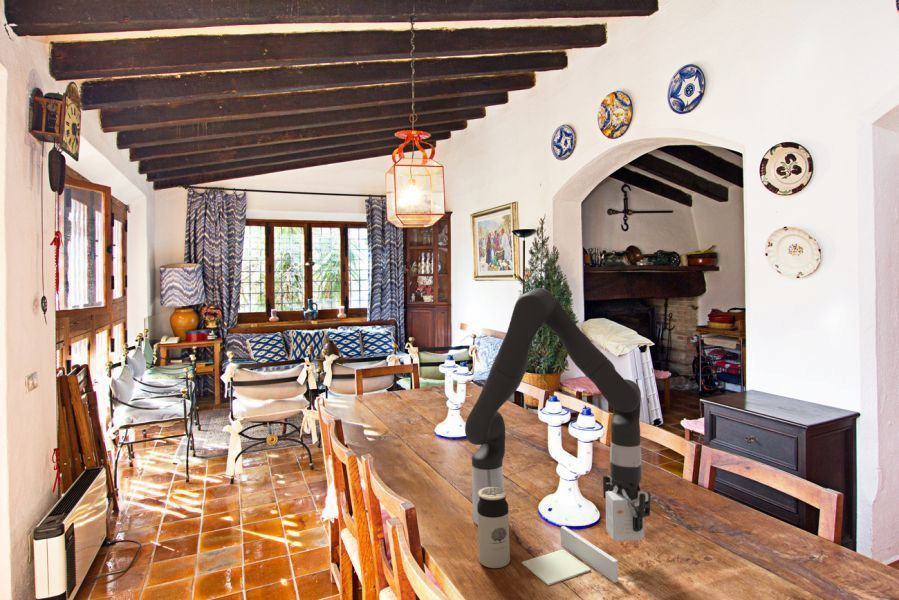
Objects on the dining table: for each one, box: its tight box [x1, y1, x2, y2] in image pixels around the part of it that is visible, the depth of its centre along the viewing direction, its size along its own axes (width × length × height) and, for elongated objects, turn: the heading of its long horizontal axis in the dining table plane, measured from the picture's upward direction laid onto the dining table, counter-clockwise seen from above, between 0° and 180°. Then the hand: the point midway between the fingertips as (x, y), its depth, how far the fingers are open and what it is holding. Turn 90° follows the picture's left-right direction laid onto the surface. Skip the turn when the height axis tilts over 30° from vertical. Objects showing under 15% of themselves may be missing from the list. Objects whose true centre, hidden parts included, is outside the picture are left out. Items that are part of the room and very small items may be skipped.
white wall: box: [560, 525, 619, 583], centre depth 132 cm, size 20×1×5 cm, turn 26°
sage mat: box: [521, 548, 592, 586], centre depth 130 cm, size 11×13×1 cm
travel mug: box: [477, 487, 511, 569], centre depth 133 cm, size 8×8×18 cm
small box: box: [605, 490, 645, 542], centre depth 131 cm, size 8×6×10 cm
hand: (625, 524), depth 131 cm, fingers closed on small box, 7 cm apart
